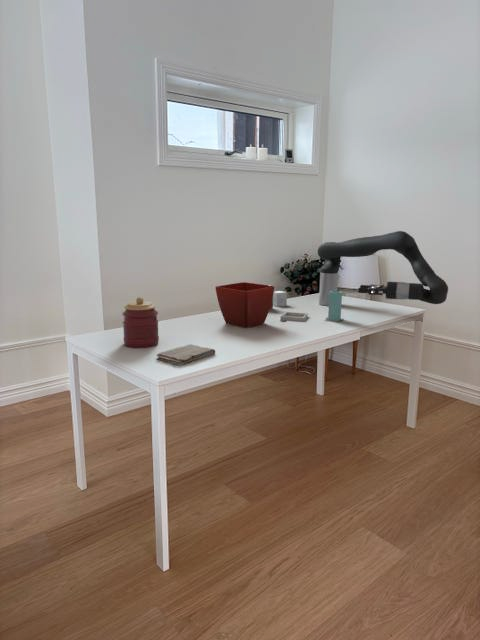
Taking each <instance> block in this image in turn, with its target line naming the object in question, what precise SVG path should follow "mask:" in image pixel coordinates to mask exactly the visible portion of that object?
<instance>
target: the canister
mask: <svg viewBox="0 0 480 640" xmlns="http://www.w3.org/2000/svg"><path fill="white" fill-rule="evenodd" d="M156 307H157V305H156V304H153V303H152V302H150V301H144V298H143V297H141V296H139V297H138V296H137V298H136V300H135V301H130V302H128V303H127V304H126V305H125V306H124V307H123V308H124V309H125V310H124V311H123V312H122V314H121V315H122V316H123V321H122V324H123V325H122V326H123V343H124V346H126V347H129V348H133V349H135V348H136V349H139V348H140V349H142V348H151V347H155V346H156V345H158V344H159V341H160V339H159V338H160V336H159V320H158V314H159V311H158V310H156Z"/></svg>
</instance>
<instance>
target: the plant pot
mask: <svg viewBox="0 0 480 640" xmlns="http://www.w3.org/2000/svg"><path fill="white" fill-rule="evenodd" d="M270 285H271V284H260V283H254V282H244V281H243V282H242V281H241V282H236V283H229V284H223V285H222V284H221V285H217V286H215V288H214V289H215V294H216V296H217V297H216V298H217V302H218V305H219V308H220V311H221V316H223V318H222V319H223V320H224V322H225V324H227V325H232V326H237V327H241V328H250V327H253V326H258V325H262V324H265V323H266V320H267V317H268V314H269V312H270V310H269V309H270V306H271V302H272V298H273V293H274V291H275V285H272V286H270Z"/></svg>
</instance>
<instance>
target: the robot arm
mask: <svg viewBox="0 0 480 640" xmlns="http://www.w3.org/2000/svg"><path fill="white" fill-rule="evenodd" d="M382 250H392V251H393V250H394V251H395V252H396V253H398V254H401V255H402V256H403V257H404V258H405V259H406V260H407V261H408V262H409V263H410V265H411V268H412V271H413V273H414V274H415V277H416V278H417V279H418V281H419V282H420V283H415V282H406V281H405V282H403V281H387V282H386V284H385V285H386V286H385V285H384V284H373V283H372V284H369V285H368V284H361V285H360V286H359V287H358V288H357V289H358V291H357V292H358V293H359V294H368V295H369V296H371V295H373V296H374V295H375V296H383V295H384V294H385V299H386V300H400V301H401V300H402V301H403V300H410V301H411V300H412V301H413V300H415V301H417V300H418V301H421V302H423V303H428V304H431V305H441V304H443V303H445V301H446V300H447V296H448V294H449V286H448V284H447V283H446V281H445V280H444V279H443V278H442V277H440V276H439V275H438V274H436V273H435V270H434V269H433V268H432V267H431V266H430V264H429V262H427V260H426V259H425V258H424V256H423V255H422V253H421V251H420V248H419V247H418V244H417V243H416V240H415V238H414V237H413V235H412V236H411V234H409V233H408V232H406V231H402V230H398V231H397V230H396V231H393V232H388V233H385V234H381V235H375V236H374V235H373V236H365V237H364V236H363V237H358V238H353V239H349V240H344V241H341V242H336V241H330V242H329V241H328V242H323V243H321V244H320V245H319V246H318V248H317V255H318V257H319V258H320V259H321V260H324V261H325V262H324V263H323V265H322V266H321V267H320V269H319V271H320V273H319V291H318V292H319V295H318V297H319V298H318V305H320V306H326V307H327V306H328V307H329V293H330V291H338V278H339V277H338V275H339V269H340V266H341V258H360V257H361V258H363V257H369V256H372V255H375V254H376V253H378V252H380V251H382ZM425 287H428V288H429V289H427V288H425Z"/></svg>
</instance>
